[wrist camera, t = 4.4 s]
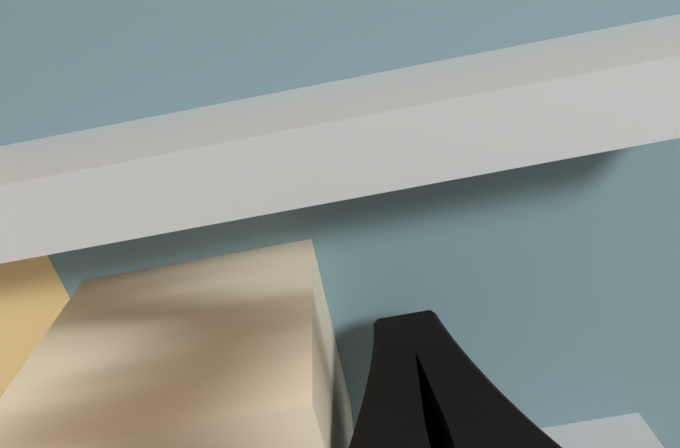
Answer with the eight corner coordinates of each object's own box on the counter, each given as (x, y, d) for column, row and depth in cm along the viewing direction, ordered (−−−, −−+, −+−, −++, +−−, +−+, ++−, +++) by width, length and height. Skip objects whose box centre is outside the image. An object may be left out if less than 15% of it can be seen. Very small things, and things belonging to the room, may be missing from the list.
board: (-273, 597, 19) (-429, 768, 15) (-919, 137, 10) (-1677, 248, 6) (680, 442, 17) (789, 585, 14) (815, -228, 9) (1207, -372, 5)
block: (161, 437, 13) (98, 643, 9) (83, 280, 11) (-48, 466, 7) (350, 405, 13) (369, 601, 9) (311, 238, 11) (312, 405, 7)
